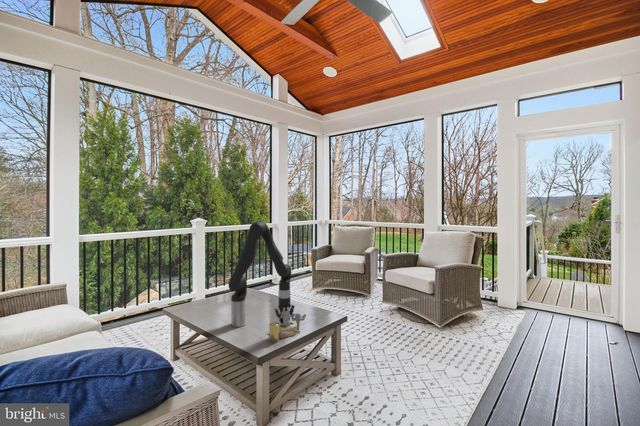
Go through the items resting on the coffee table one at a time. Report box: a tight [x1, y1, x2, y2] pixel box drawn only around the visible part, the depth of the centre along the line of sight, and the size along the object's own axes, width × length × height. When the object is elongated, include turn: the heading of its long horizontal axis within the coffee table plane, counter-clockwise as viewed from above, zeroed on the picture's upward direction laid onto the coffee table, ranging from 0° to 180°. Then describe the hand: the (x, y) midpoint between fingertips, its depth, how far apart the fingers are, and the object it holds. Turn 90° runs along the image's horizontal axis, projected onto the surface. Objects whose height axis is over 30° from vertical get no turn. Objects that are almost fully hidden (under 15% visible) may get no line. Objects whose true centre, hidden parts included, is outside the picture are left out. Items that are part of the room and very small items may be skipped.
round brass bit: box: [269, 321, 281, 343], centre depth 193 cm, size 6×6×10 cm
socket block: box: [278, 321, 298, 340], centre depth 203 cm, size 12×12×5 cm
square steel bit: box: [280, 309, 290, 327], centre depth 203 cm, size 4×4×12 cm
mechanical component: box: [290, 313, 307, 331], centre depth 209 cm, size 3×10×10 cm, turn 94°
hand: (284, 322), depth 203 cm, fingers closed on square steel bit, 4 cm apart
